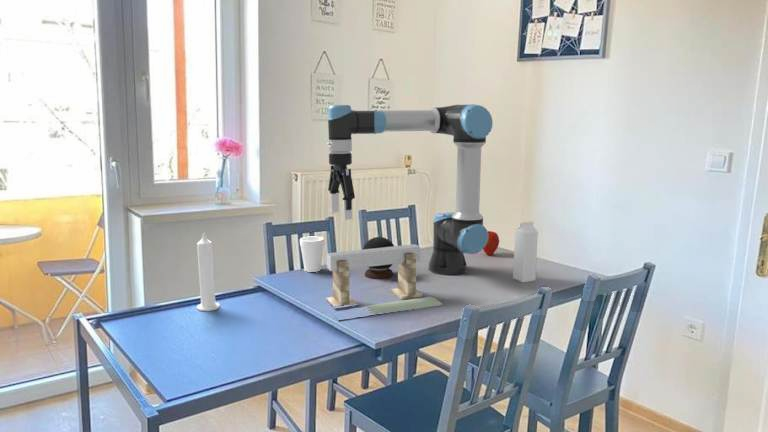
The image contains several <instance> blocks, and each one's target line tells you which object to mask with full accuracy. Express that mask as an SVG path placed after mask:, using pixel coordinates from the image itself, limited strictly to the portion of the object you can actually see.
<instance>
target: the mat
mask: <svg viewBox="0 0 768 432" xmlns="http://www.w3.org/2000/svg"><path fill="white" fill-rule="evenodd" d="M443 305H444V304H443V303H442V302H441V301H440V300H438V299H437V298H436V297H435V298H434V297H433V296H426V297H425V296H424V297H416V298H409V299H402V300H397V301H390V302H384V303H383V302H382V303H376V304H369V305H364V307H368V308H367V309H369V308H370V310H368V311H372V312H370V313H373V314H379V313H387V312H395V313H398V312H397V311H401V312H405V311H404V310H408V311H413V310H412V309H414V310H420V309H425V308H431V307H432V308H433V307H439V306H440V307H441V306H443ZM364 310H365V309H364Z"/></svg>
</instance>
